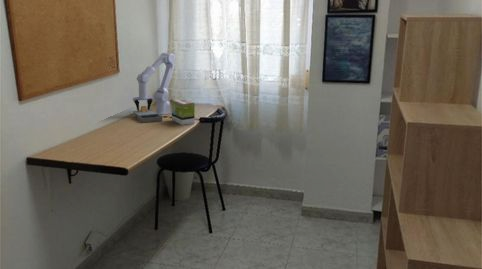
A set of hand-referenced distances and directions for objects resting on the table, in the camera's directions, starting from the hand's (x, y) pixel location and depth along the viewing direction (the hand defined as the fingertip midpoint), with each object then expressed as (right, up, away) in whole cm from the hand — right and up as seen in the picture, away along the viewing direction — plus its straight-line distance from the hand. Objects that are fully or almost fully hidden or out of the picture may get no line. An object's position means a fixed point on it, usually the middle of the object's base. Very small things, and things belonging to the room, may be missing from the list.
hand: (143, 110), depth 319 cm
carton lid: (+2, -2, -3) cm, 5 cm away
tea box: (+29, -9, -11) cm, 33 cm away
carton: (+6, -7, -9) cm, 13 cm away
